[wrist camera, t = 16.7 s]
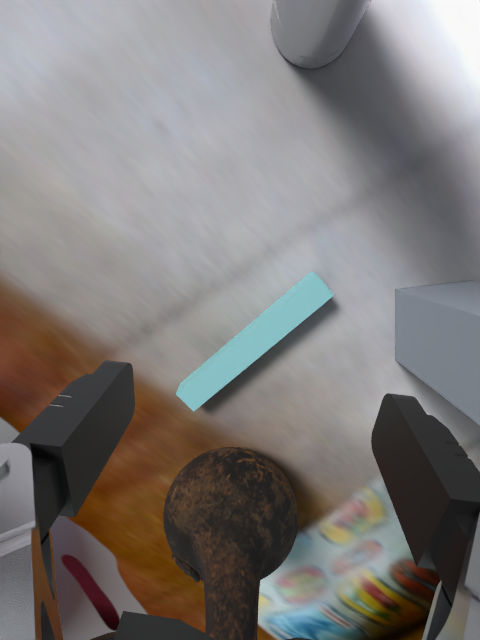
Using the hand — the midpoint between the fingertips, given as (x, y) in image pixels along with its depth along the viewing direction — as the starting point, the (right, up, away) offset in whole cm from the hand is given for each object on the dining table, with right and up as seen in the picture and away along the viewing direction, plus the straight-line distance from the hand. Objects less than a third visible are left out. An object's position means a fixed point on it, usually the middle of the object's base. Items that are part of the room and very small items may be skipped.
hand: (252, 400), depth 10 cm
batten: (+1, 0, +34) cm, 34 cm away
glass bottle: (-2, -22, +39) cm, 45 cm away
